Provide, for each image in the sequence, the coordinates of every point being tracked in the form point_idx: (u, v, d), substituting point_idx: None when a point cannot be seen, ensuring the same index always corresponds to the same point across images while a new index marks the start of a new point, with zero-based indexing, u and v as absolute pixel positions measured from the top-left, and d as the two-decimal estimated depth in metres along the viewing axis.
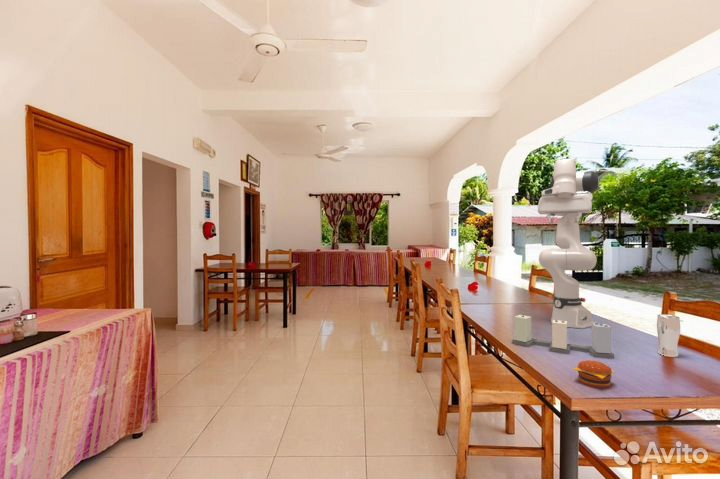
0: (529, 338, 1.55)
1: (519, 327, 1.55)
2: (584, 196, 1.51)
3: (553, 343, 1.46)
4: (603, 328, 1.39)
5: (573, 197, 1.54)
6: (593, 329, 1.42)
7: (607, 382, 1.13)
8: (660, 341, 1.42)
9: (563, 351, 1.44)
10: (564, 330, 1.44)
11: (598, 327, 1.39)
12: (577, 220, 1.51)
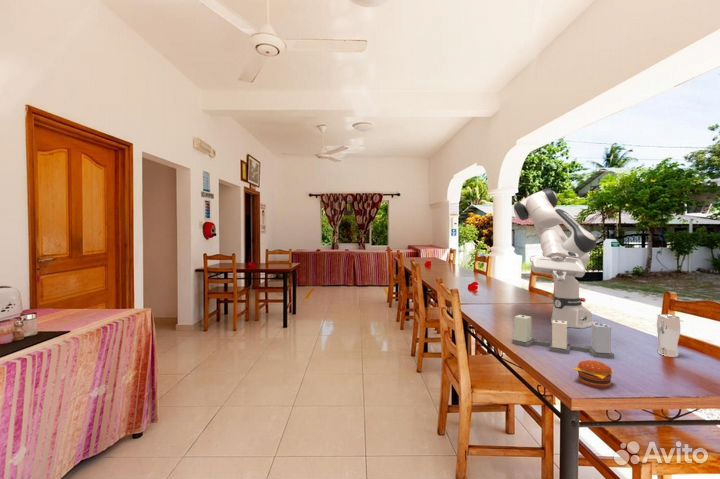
0: (529, 338, 1.55)
1: (519, 327, 1.55)
2: None
3: (553, 343, 1.46)
4: (603, 328, 1.39)
5: None
6: (593, 329, 1.42)
7: (607, 382, 1.13)
8: (660, 341, 1.42)
9: (563, 351, 1.44)
10: (564, 330, 1.44)
11: (598, 327, 1.39)
12: None
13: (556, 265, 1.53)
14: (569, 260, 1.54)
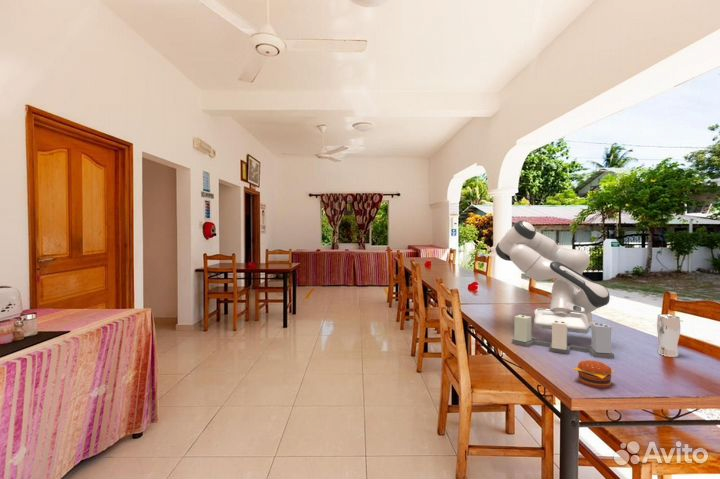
0: (529, 338, 1.55)
1: (519, 327, 1.55)
2: None
3: (553, 344, 1.45)
4: (603, 328, 1.39)
5: None
6: (593, 329, 1.42)
7: (607, 382, 1.13)
8: (660, 341, 1.42)
9: (563, 351, 1.44)
10: (564, 331, 1.43)
11: (598, 327, 1.39)
12: None
13: None
14: (573, 315, 1.51)
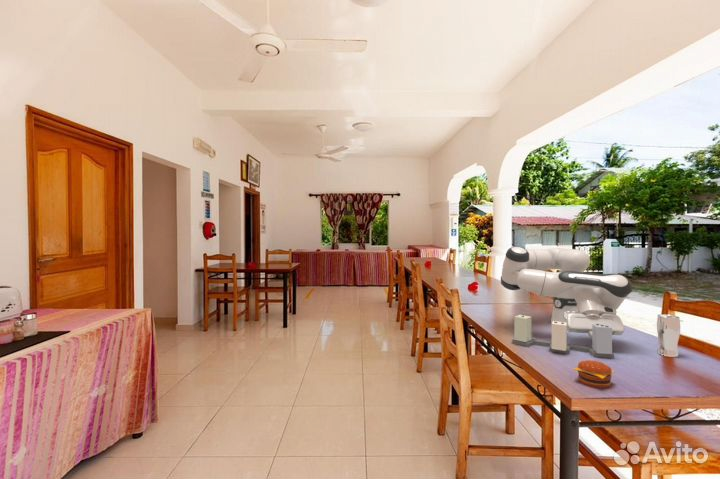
0: (529, 338, 1.55)
1: (519, 327, 1.55)
2: None
3: (552, 345, 1.44)
4: (604, 329, 1.38)
5: None
6: (593, 330, 1.42)
7: (607, 382, 1.13)
8: (660, 341, 1.42)
9: (563, 351, 1.44)
10: (564, 331, 1.42)
11: (599, 328, 1.38)
12: None
13: None
14: (606, 317, 1.48)
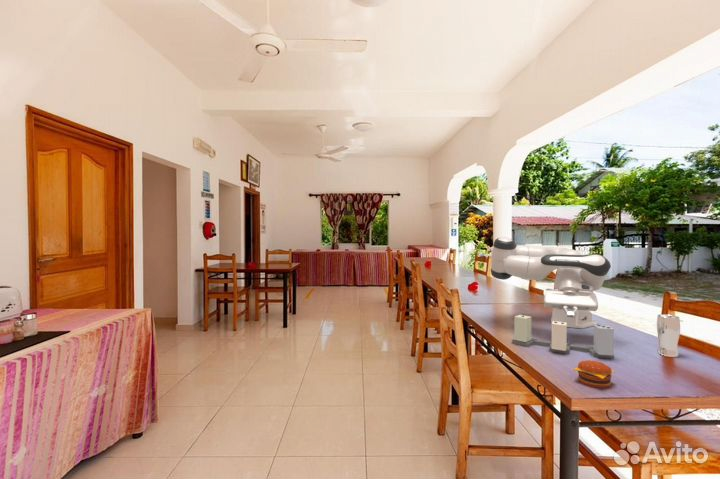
0: (529, 338, 1.55)
1: (519, 327, 1.55)
2: None
3: (552, 345, 1.44)
4: (605, 330, 1.36)
5: None
6: (595, 331, 1.40)
7: (607, 382, 1.13)
8: (660, 341, 1.42)
9: (563, 351, 1.44)
10: (564, 331, 1.42)
11: (600, 329, 1.37)
12: None
13: (568, 299, 1.56)
14: (582, 294, 1.56)
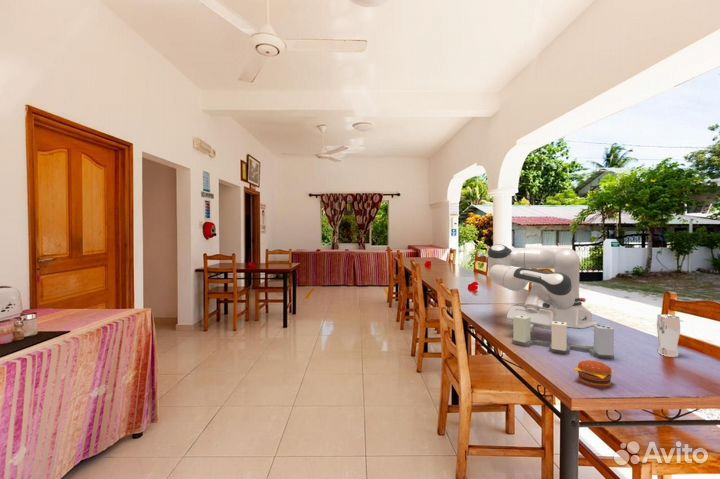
0: (528, 338, 1.54)
1: (518, 328, 1.54)
2: None
3: (552, 345, 1.44)
4: (605, 330, 1.36)
5: None
6: (595, 331, 1.40)
7: (607, 382, 1.13)
8: (660, 341, 1.42)
9: (563, 351, 1.44)
10: (564, 331, 1.42)
11: (600, 329, 1.37)
12: None
13: (527, 316, 1.61)
14: (542, 312, 1.58)
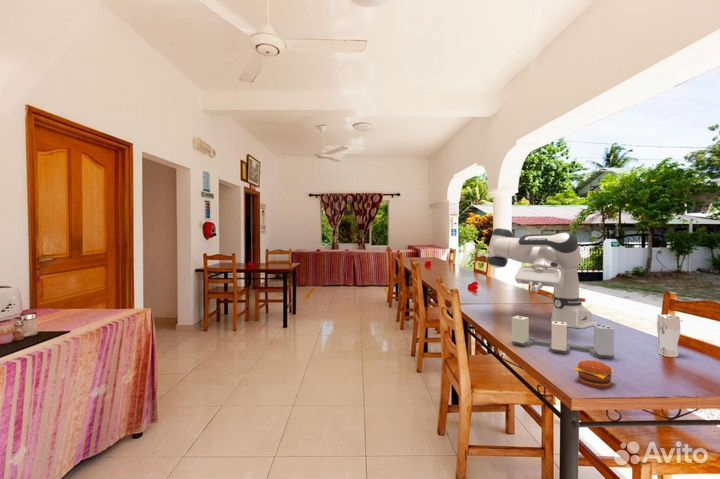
0: (526, 339, 1.53)
1: (516, 328, 1.53)
2: None
3: (552, 345, 1.44)
4: (605, 330, 1.36)
5: None
6: (595, 331, 1.40)
7: (607, 382, 1.13)
8: (660, 341, 1.42)
9: (563, 351, 1.44)
10: (564, 331, 1.42)
11: (600, 329, 1.37)
12: None
13: (535, 276, 1.65)
14: (550, 271, 1.62)
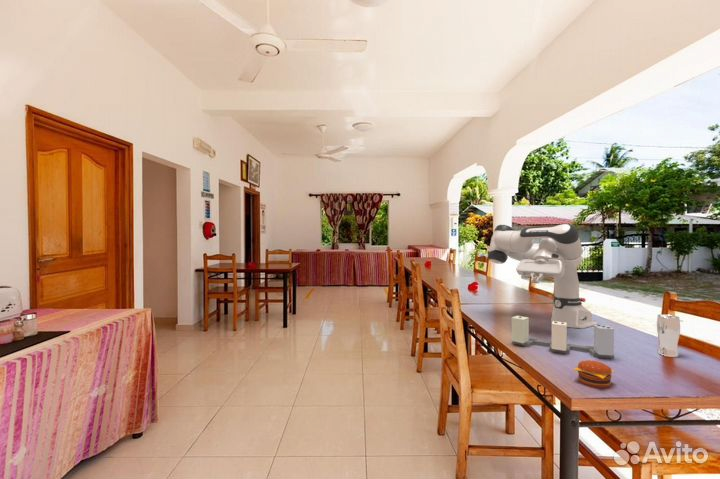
0: (526, 339, 1.53)
1: (516, 328, 1.53)
2: None
3: (552, 345, 1.44)
4: (605, 330, 1.36)
5: None
6: (595, 331, 1.40)
7: (607, 382, 1.13)
8: (660, 341, 1.42)
9: (563, 351, 1.44)
10: (564, 331, 1.42)
11: (600, 329, 1.37)
12: None
13: (536, 267, 1.66)
14: (551, 262, 1.64)
